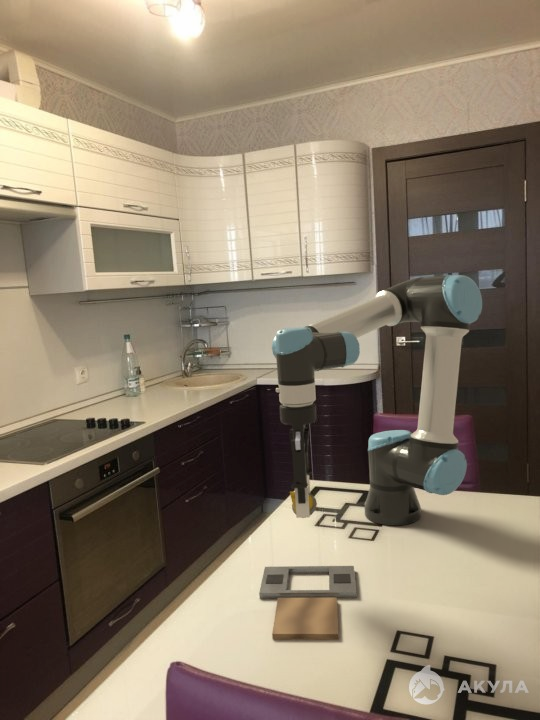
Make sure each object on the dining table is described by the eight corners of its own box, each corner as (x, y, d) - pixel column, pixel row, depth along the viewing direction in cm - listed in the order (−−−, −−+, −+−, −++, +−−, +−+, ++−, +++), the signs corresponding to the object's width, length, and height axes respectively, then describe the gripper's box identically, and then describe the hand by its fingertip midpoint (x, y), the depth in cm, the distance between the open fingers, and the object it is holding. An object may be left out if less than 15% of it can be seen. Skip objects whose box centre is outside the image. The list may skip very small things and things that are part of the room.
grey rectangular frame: (354, 570, 126) (353, 565, 125) (356, 597, 115) (356, 591, 114) (265, 571, 128) (264, 566, 127) (259, 598, 117) (259, 592, 117)
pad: (337, 602, 114) (336, 597, 113) (338, 639, 102) (338, 633, 102) (278, 602, 115) (277, 597, 115) (272, 638, 103) (272, 633, 103)
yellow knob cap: (324, 517, 119) (304, 497, 112) (302, 526, 120) (280, 508, 113) (319, 495, 123) (298, 475, 116) (297, 505, 124) (276, 485, 117)
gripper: (283, 394, 125) (289, 494, 128) (275, 414, 107) (282, 530, 110) (316, 393, 125) (322, 493, 128) (314, 412, 106) (320, 529, 109)
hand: (303, 510), depth 119 cm, fingers closed on yellow knob cap, 6 cm apart
